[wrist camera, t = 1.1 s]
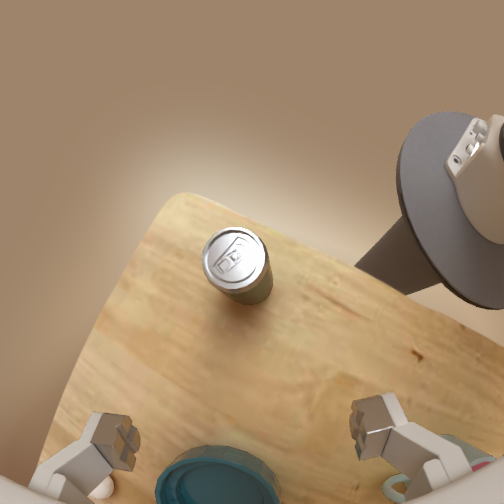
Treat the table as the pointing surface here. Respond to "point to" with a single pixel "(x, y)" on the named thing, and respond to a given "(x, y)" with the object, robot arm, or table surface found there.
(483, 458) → the mug
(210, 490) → the teal bowl
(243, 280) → the green soda can
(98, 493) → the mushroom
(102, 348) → the table surface
